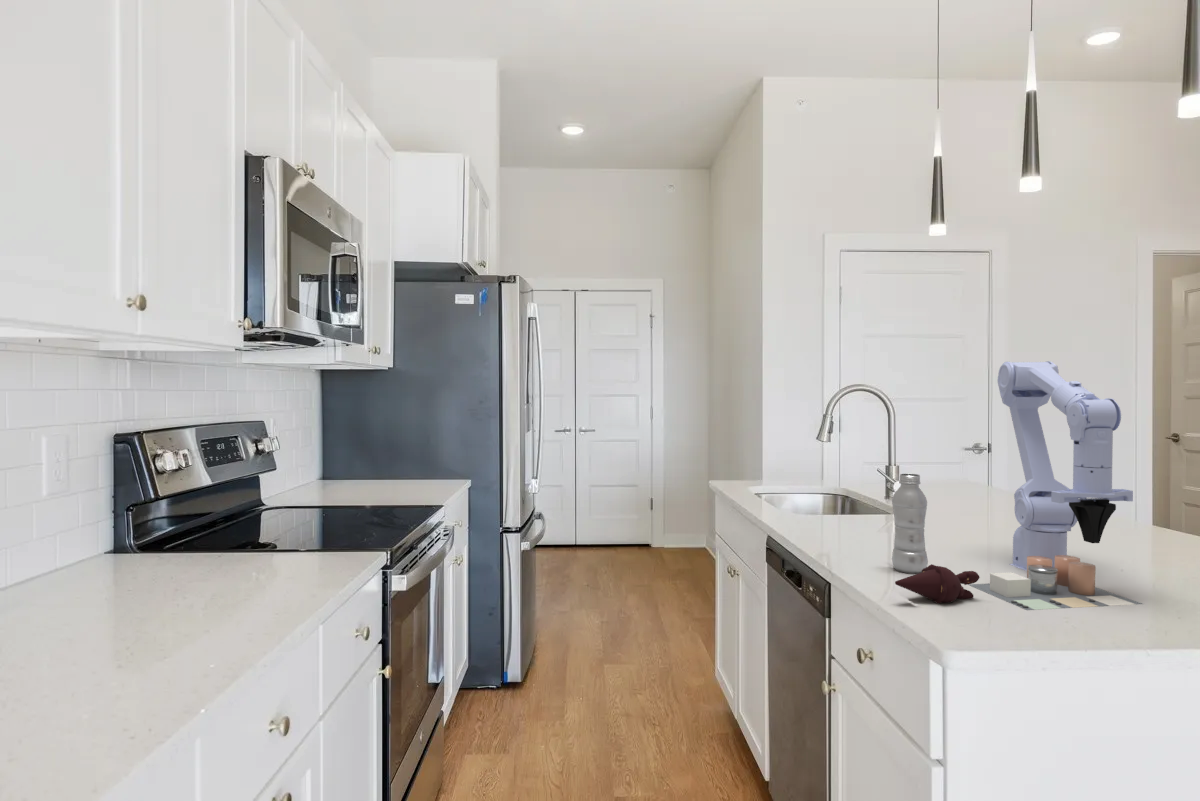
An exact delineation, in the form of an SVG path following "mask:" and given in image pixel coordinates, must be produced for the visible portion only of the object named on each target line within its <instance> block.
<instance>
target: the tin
mask: <svg viewBox="0 0 1200 801" xmlns="http://www.w3.org/2000/svg"><path fill="white" fill-rule="evenodd" d="M1028 569H1029V576H1028V579H1031V592H1033V593H1037V594H1043V595H1055V594H1057V572H1058V569H1057V568H1055V567H1051V566H1046V565H1029V566H1028Z"/></svg>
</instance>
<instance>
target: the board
mask: <svg viewBox="0 0 1200 801" xmlns="http://www.w3.org/2000/svg"><path fill="white" fill-rule="evenodd" d="M967 586H970V587H972V588H974V589H976V590H979V591H981V592H983V593H986V594H988V595H991V596H993V597H994V598H998V599H1000V600H1002V601H1004V602H1006V603H1008V604H1011V605H1013V606H1016V607H1018V608H1020V609H1023V610H1026V611H1037V610H1038V611H1041V610H1056V609H1075V608H1095V607H1096V608H1097V607H1113V606H1132V605H1133V606H1134V605H1135V606H1136V605H1144V603H1142V602H1140V601H1136V600H1134V599H1131V598H1127V597H1125V596H1122V595H1119V594H1117V593H1113V592H1110V591H1107V590H1105V589H1101V588H1098V587H1096V586H1095V595H1080V594H1075V593H1072V592H1069V591H1068V587H1066V586H1061V585H1057V594H1055V595H1043V594H1037V593H1033V592H1031V596H1023V597H1006V596H1003V595H1001V594H998V593H996V592H994V591H991V590H990V582H989V583H972V584H968V585H967Z"/></svg>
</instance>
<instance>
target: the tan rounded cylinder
mask: <svg viewBox="0 0 1200 801" xmlns="http://www.w3.org/2000/svg"><path fill="white" fill-rule="evenodd" d="M1096 569H1097V568H1096V565H1095V564H1093V563H1088V562H1083V561H1080V562H1069V573H1068V591H1069V592H1072V593H1075V594H1080V595H1095V587H1096Z"/></svg>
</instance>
